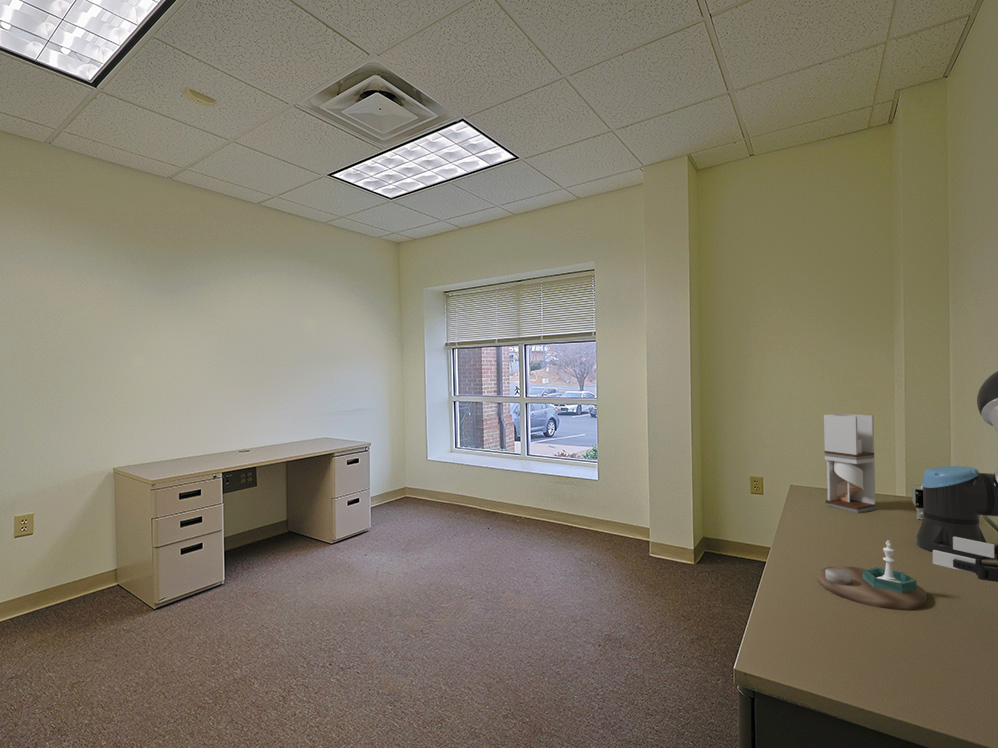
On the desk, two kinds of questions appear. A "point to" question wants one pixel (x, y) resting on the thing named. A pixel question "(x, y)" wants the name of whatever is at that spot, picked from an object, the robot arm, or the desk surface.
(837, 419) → the spiral staircase model
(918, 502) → the pneumatic valve
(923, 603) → the carrier
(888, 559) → the chess piece
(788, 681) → the desk surface
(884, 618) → the desk surface
